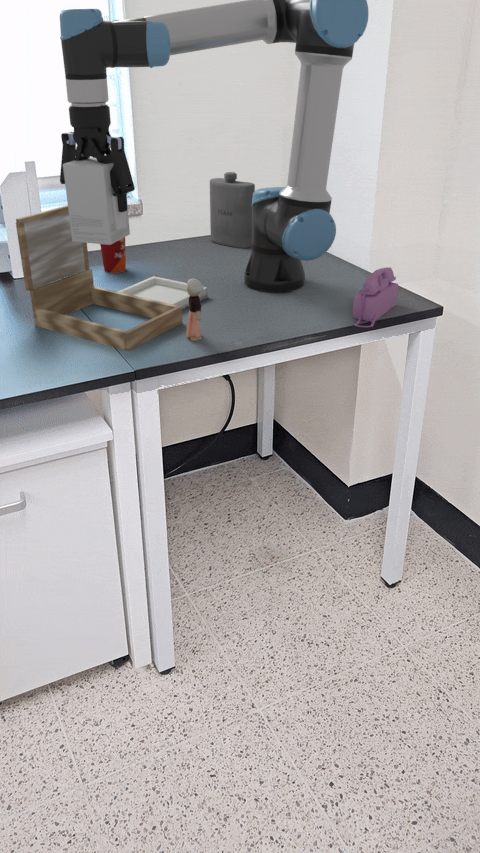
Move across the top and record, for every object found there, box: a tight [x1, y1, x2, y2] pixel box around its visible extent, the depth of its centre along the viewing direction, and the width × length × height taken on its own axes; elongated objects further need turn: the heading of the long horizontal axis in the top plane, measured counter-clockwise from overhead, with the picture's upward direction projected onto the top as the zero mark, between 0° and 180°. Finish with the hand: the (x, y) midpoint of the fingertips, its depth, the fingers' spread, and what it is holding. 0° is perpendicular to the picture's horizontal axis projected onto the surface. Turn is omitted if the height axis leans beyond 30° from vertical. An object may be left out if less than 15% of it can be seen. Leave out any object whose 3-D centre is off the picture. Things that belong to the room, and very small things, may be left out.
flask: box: [209, 171, 256, 249], centre depth 207 cm, size 15×6×20 cm, turn 52°
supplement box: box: [63, 156, 131, 245], centre depth 143 cm, size 9×9×15 cm
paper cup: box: [99, 237, 127, 274], centre depth 186 cm, size 8×8×14 cm
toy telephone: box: [352, 266, 399, 328], centre depth 159 cm, size 18×6×10 cm, turn 148°
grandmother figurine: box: [185, 278, 204, 341], centre depth 146 cm, size 8×4×13 cm, turn 24°
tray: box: [117, 275, 209, 311], centre depth 168 cm, size 16×16×2 cm
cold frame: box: [15, 204, 183, 352], centre depth 150 cm, size 27×18×23 cm
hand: (100, 224), depth 145 cm, fingers closed on supplement box, 10 cm apart
